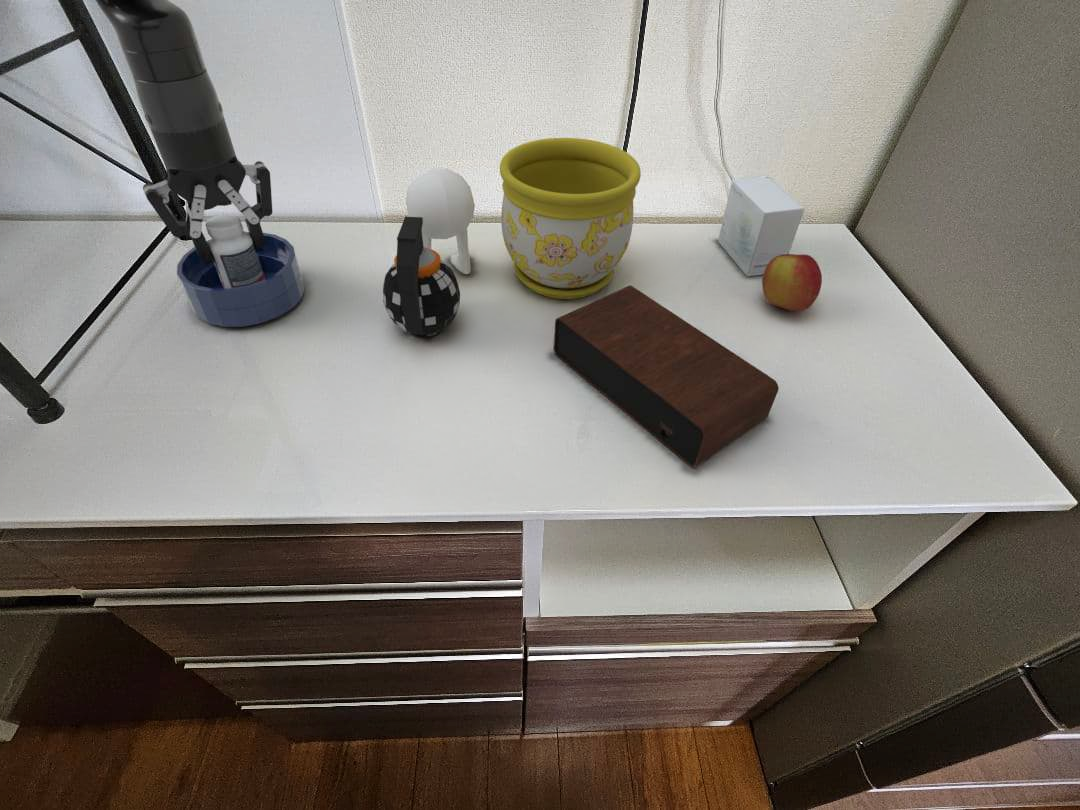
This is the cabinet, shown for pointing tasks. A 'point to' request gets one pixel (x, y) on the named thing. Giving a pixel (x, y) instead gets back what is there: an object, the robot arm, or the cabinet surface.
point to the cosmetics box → (758, 223)
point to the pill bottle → (233, 252)
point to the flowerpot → (567, 213)
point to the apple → (792, 281)
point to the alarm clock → (664, 373)
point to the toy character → (443, 210)
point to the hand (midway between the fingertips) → (233, 253)
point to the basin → (244, 287)
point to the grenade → (419, 285)
